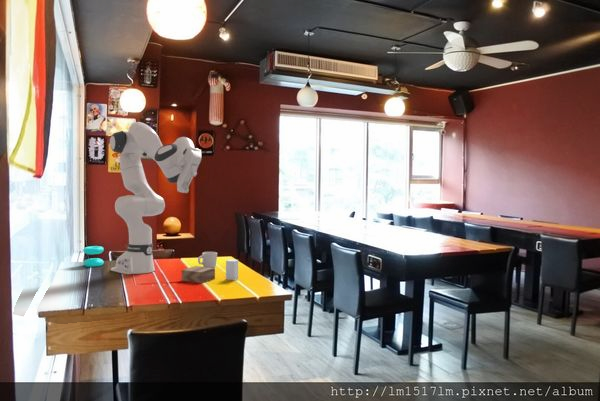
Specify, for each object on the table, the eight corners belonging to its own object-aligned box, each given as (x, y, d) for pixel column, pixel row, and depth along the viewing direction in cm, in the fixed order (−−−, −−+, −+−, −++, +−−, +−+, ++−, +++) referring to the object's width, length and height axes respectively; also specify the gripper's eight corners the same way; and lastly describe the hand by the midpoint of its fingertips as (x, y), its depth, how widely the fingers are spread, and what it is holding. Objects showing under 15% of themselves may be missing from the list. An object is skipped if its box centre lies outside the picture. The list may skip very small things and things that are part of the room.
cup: (202, 270, 239) (202, 255, 239) (194, 267, 245) (194, 253, 245) (219, 267, 247) (220, 253, 246) (212, 265, 253) (212, 251, 252)
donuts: (87, 249, 239) (80, 246, 246) (87, 268, 239) (80, 265, 246) (106, 247, 246) (99, 245, 253) (106, 265, 246) (99, 263, 253)
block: (225, 279, 219) (226, 260, 219) (229, 277, 223) (229, 259, 223) (234, 280, 218) (234, 261, 218) (238, 278, 222) (238, 259, 222)
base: (181, 280, 215) (181, 269, 215) (196, 276, 225) (196, 266, 225) (200, 283, 211) (201, 272, 210) (214, 278, 221) (214, 268, 220)
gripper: (172, 179, 205) (174, 199, 195) (188, 143, 194) (191, 163, 185) (186, 182, 208) (188, 202, 198) (202, 147, 197) (206, 167, 188)
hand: (190, 183), depth 191 cm, fingers open, 8 cm apart
